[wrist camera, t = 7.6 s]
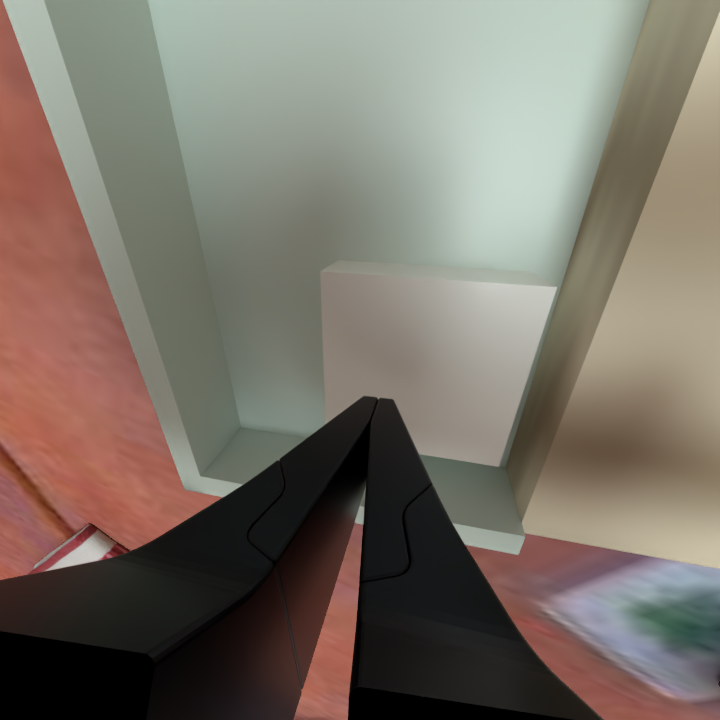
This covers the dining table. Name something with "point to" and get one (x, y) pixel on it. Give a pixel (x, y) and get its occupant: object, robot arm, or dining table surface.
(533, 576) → the dining table surface
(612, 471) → the beige flat block
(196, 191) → the tray
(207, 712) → the robot arm
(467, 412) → the white tile
